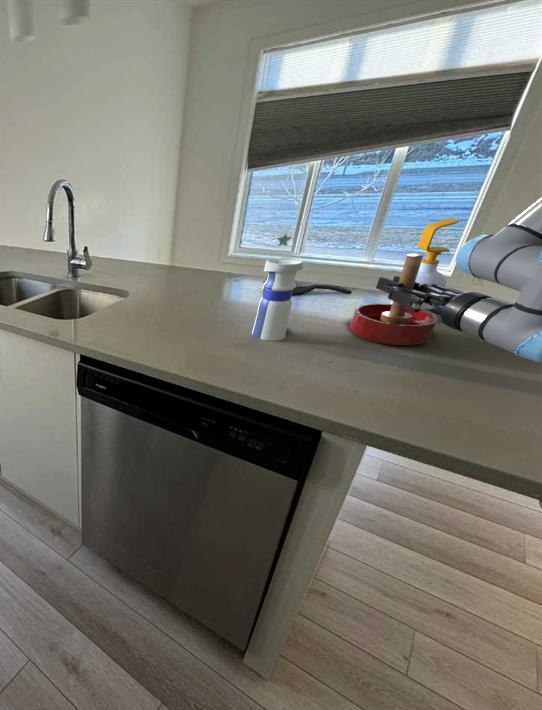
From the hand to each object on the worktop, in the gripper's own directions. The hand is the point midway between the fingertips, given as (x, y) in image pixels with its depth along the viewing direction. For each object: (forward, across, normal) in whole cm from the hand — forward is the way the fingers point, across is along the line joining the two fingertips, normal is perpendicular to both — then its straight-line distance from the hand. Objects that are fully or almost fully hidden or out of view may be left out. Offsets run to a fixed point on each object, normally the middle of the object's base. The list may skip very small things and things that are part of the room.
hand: (386, 282), depth 99 cm
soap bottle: (+5, +13, -12) cm, 19 cm away
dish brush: (-6, 0, -11) cm, 13 cm away
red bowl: (-5, 0, -12) cm, 13 cm away
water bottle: (0, -27, -12) cm, 29 cm away
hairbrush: (+30, 0, -12) cm, 32 cm away
